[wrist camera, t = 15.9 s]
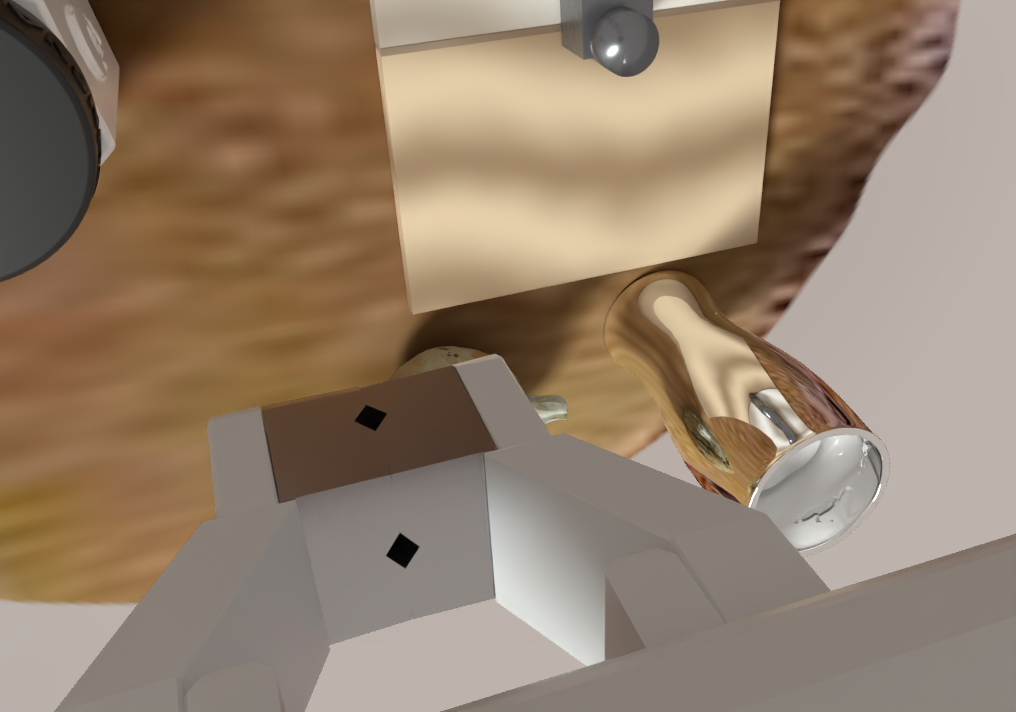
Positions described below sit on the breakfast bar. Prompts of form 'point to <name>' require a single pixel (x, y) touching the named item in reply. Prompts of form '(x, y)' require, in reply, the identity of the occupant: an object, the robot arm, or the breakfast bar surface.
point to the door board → (567, 143)
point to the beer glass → (748, 413)
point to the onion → (449, 355)
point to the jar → (51, 124)
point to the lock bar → (611, 33)
